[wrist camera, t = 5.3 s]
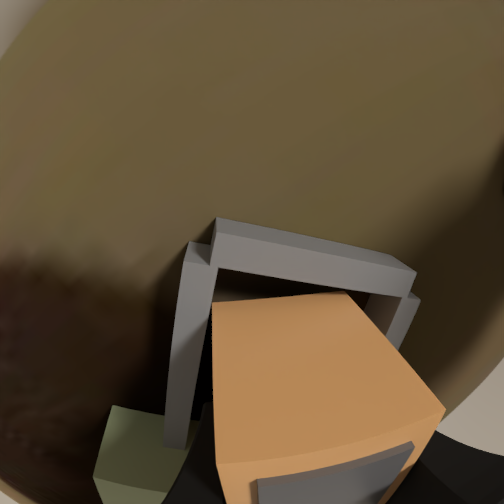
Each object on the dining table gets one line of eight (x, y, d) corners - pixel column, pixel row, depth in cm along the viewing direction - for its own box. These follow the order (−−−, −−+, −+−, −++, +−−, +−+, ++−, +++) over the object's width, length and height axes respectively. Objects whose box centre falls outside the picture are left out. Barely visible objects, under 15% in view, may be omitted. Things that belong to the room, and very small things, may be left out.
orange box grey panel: (344, 290, 10) (451, 415, 4) (324, 422, 12) (368, 529, 6) (212, 302, 10) (216, 473, 4) (228, 435, 12) (242, 555, 6)
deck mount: (443, 267, 12) (510, 310, 8) (327, 473, 16) (344, 522, 12) (117, 199, 9) (55, 232, 5) (120, 462, 14) (110, 519, 10)
